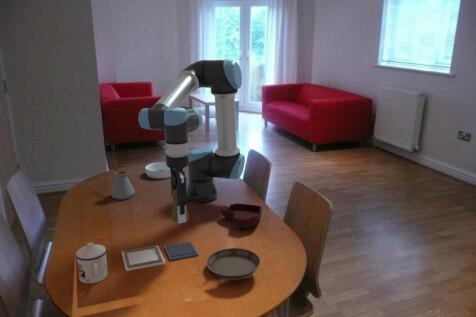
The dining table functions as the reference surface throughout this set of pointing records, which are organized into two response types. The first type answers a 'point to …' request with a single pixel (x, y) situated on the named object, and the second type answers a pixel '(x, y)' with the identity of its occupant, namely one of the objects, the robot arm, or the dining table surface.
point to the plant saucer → (233, 263)
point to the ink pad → (181, 250)
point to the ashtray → (242, 214)
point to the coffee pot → (121, 185)
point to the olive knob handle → (174, 208)
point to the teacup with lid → (92, 263)
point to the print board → (142, 258)
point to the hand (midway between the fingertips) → (179, 218)
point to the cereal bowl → (154, 168)
